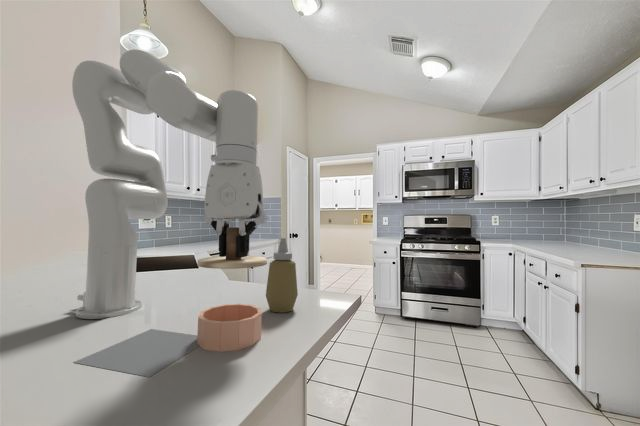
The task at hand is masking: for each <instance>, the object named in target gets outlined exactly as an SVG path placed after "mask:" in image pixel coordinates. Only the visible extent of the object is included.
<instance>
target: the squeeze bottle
mask: <svg viewBox="0 0 640 426" xmlns="http://www.w3.org/2000/svg"><path fill="white" fill-rule="evenodd" d="M278 245H279V246H278V250H277V251H276V252H273V260H272V261H271V262H269V265H268V266H269V267H268V276H267V280H266V281H267V283H266V290H265V298H266V301H267V305H268V308H269V310H270V311H271V312H273V313H288V312H291V311H293V310H294V307H295V303H296V301H297V298H298V294H299V293H298V283H297V280H298V279H297V266H296V262H295V261H293V260H292V259H293V253H292V252H289V249H288V244H287V238H285V237H284V238H280V242H279V244H278Z"/></svg>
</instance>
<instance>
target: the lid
mask: <svg viewBox="0 0 640 426" xmlns="http://www.w3.org/2000/svg"><path fill="white" fill-rule="evenodd" d="M237 236H239V226H238V227H237V226H235V227H233V226H230V227H227V232H226V256H225V257H220V256H219V255H218V256H210V257H203V258H199V259H197V263H196V264H197V267H200V268H205V269H215V270H216V269H219V270H220V269H221V270H226V269H230V270H233V269H234V270H235V269H249V268H250V269H251V268H257V267H263V266H266V265H267V264H268V258H266V257H262V256H254V255H253V256H252V255H247V256H246V257H241V258H237V257H236V237H237Z"/></svg>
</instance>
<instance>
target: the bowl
mask: <svg viewBox="0 0 640 426" xmlns="http://www.w3.org/2000/svg"><path fill="white" fill-rule="evenodd" d="M262 316H263V312H262V308H261V307H258V306H256V305H253V304H245V303H231V304H230V303H229V304H222V305H216V306H211V307H208V308H205V309H203V310H202V311H200V312H199V315H198V316H197V335H198V336H197V344H199V345H200V346H199V347H200V348H202V349H203V350H205V351H211V352H212V351H213V352H219V353H221V352H222V353H223V352H232V351H240V350H242V349H246V348H249V347H251V346H254V345H255V344H256V343H257V342H259V341H260V340H261V339H262V318H263V317H262Z"/></svg>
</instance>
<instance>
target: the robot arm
mask: <svg viewBox="0 0 640 426" xmlns="http://www.w3.org/2000/svg"><path fill="white" fill-rule="evenodd" d="M71 85H72V87H71V91H72V97H73V100H74V102H75V105H76V108H77V110H78V113H79V116H80V117H81V118H80V119H81V121H82V124H83V130H84V137H85V147H86V153H87V158H88V159H87V160H88V163H89V166H90V169H91V170H92V171H93V172H95V173H96V174H98V175H101V176H105V177H108V178H100V179H96V180H94V181H92V182H91V183H89V185H88V186H87V188H86V190H85V193H84V194H85V195H84V196H85V197H84V198H85V199H84V200H85V206H86V211H87V212H86V213H87V219H88V220H87V221H88V245H87V263H86V264H87V265H86V266H87V267H86V282H85V283H86V284H85V291H84V292H83V294H78V295H77V297H76V300H78V301H82V306H80V307H78V308H77V309H76V310H75V316H76V317H77V318H78V319H84V320H100V319H101V320H103V319H109V318H113V317H120V316H123V315H128V314H131V313H134V312H137V311H138V310H140V309H142V307H143V306H142V305H143V304H142V303H143V302H142V301H141V300H138V299H135V298H136V279H137V259H138V258H137V257H138V256H137V255H138V233H137V231H136V230H135V228H134V227H135V226H133V224H132V223H131V221H130V220H155V219H159V218H161V217H162V216H163V215H164V214H165V213H166V212H167V211H166V210H167V207H168V195H167V188H166V182H165V175H164V171H163V166H162V162H161V160H160V158H159V156H158V155H157V153H156V152H155V151H153V150H152V149H150V148H148V147H144V146H141V145H139V144H135V143H132V142H130V141H129V139H128V135H127V129H126V125H125V123H124V121H123V118H121V116H120V115H119V113H118V112H117V111H116V109H115V108H113V105H115V106H118V107H121V108H123V109H127V110H129V111H131V112H134V113H137V114H140V115H151V114H155V115H156V116H158V117H159V118H161V119H162V120H163V121H165V122H166V123H167V124H169V126H172V127H174V128H176V129H179V130H181V131H184V132H187V133H190V134H193V135H194V136H197V137H200V138H203V139H205V140H207V141H211V142H214V143H215V149H214V151H215V152H214V153H215V154H211V156H210V159H211V162H212V163H213V162H214V164H212V165H210V169H209V172H208V176H207V180H206V181H207V182H206V188H205V194H204V211H203V212H204V216H203V219H202V220H203V221H204V222H205V223H207V225H209V226H210V225H211V227H212V228H213V230H214V231H215V234H216V235H217V236H218V257H219V256H220V257H225V256H226V232H227V227H231V222H232V219H234V220H235V219H237V220H238V227H239V236H237V237H236V257H237V258H241V257H246V256H249V252H250V237H251V235H252V234H253V232H254V231H255V230H256V229H257V228H258V227H259V226H261V225H263V224H265V223H266V222H267V221H268V217H267V215H266V213H265V210H264V192H263V182H262V181H263V180H262V176H261V170H260V167H259V166H258V165H257V163H258V162H257V160H258V159H257V158H258V156H257V153H258V152H257V150H258V119H259V118H258V114H259V113H258V111H259V108H258V107H259V106H258V101H257V99H256V97H254V96H253V95H252V94H250V93H248V92H245V91H242V90H236V89H235V90H233V89H232V90H231V89H230V90H225V91H223V92H222V93H220V94H219V95H218V98H217V102H216V101H213V100H212V99H210V98H209V97H206V96H204V95H203V94H201V93H199V92H197V91H195V90H193V89H191V88H190V87H188V83H187V81H186V78H185V76H184V75H183V73H182V72H181V71H180V70H178V69H176V67H173V66H171V65H170V64H168V63H167V62H165V61H163V60H161V59H160V58H158V57H157V56H155V55H153V54H151V53H149V52H148V51H145V50H141V49H137V48H136V49H129V50H127V51H125V52H124V53H122V54H121V56H120V59H119V68H115V67H114V66H111V65H109V64H106V63H104V62H100V61H96V60H84V61H81V62H80V63H79V64H78V65H76V67H75V69H74V71H73V77H72V84H71ZM111 104H113V105H111Z"/></svg>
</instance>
